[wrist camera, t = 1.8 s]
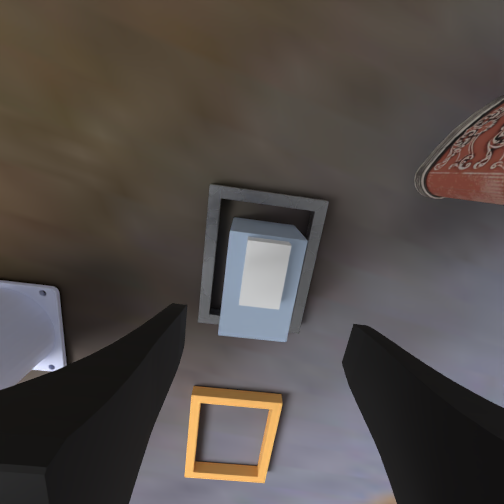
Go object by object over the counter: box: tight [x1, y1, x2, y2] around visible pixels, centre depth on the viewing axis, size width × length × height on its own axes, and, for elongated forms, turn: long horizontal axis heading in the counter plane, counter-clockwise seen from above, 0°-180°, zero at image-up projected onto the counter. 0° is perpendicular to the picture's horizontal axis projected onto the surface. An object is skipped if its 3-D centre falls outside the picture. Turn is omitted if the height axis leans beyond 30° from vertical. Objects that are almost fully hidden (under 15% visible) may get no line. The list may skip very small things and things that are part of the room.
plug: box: [218, 217, 308, 342], centre depth 17 cm, size 4×7×5 cm, turn 172°
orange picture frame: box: [185, 386, 283, 483], centre depth 25 cm, size 8×11×1 cm
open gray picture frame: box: [198, 184, 329, 333], centre depth 19 cm, size 8×11×1 cm
